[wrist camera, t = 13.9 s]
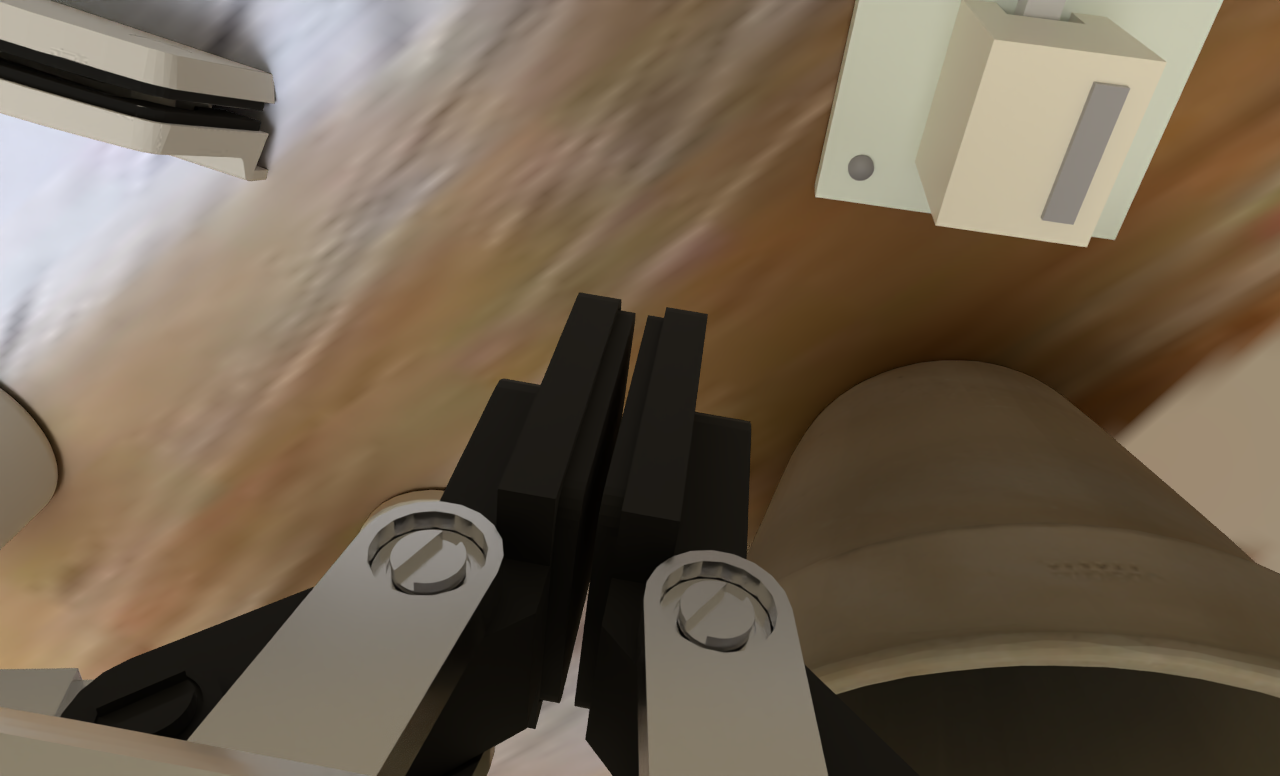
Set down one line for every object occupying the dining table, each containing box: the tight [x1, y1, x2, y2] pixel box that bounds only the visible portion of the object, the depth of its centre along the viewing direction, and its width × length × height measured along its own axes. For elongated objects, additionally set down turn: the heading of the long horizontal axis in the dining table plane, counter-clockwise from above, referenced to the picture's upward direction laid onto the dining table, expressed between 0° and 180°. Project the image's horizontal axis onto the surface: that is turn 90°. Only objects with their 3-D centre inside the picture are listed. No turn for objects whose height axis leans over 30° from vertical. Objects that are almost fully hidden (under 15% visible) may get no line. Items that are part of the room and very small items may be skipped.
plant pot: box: [747, 360, 1280, 776], centre depth 35 cm, size 25×25×22 cm
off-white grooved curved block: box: [0, 0, 275, 181], centre depth 34 cm, size 17×5×10 cm, turn 74°
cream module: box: [915, 0, 1167, 247], centre depth 30 cm, size 6×5×6 cm
